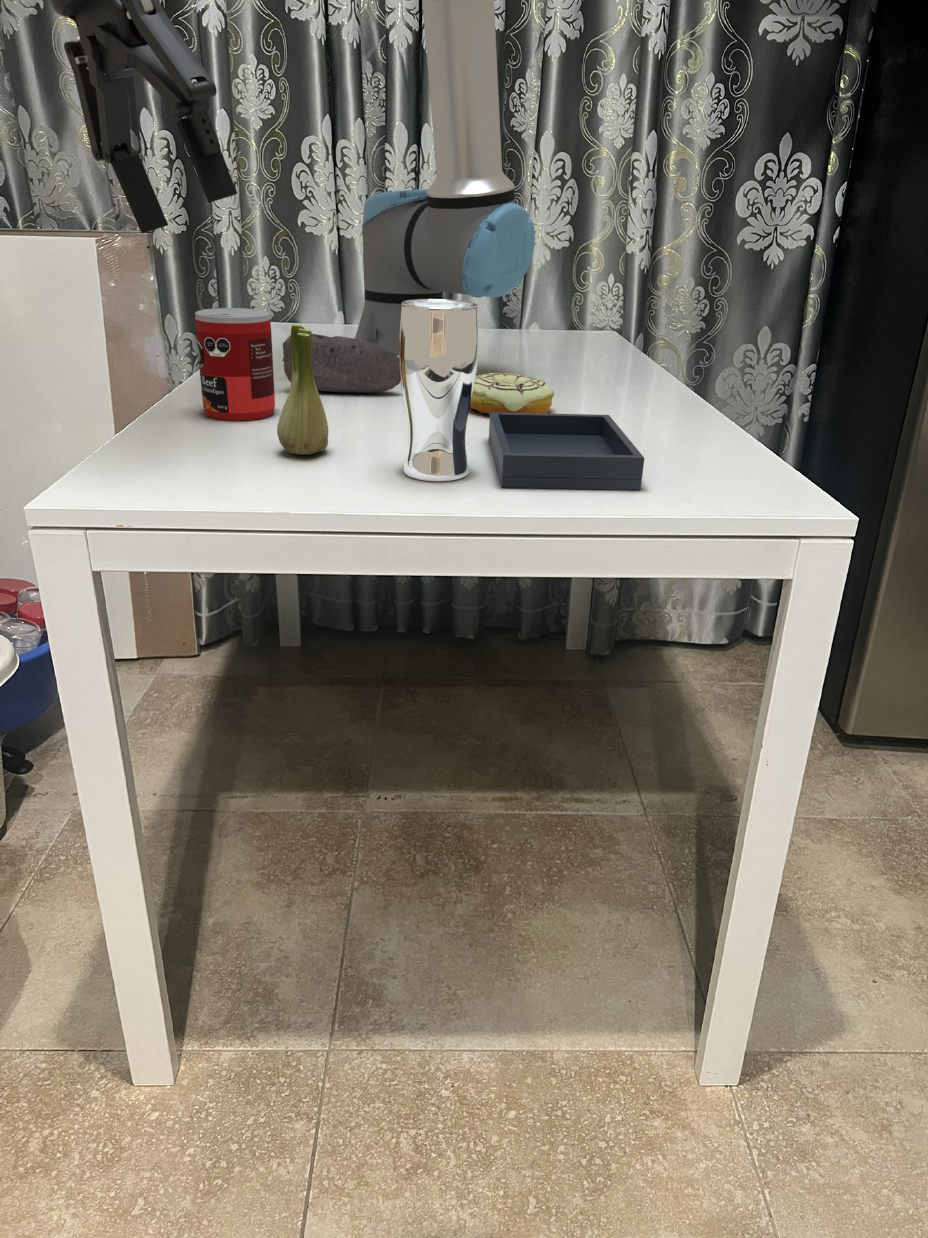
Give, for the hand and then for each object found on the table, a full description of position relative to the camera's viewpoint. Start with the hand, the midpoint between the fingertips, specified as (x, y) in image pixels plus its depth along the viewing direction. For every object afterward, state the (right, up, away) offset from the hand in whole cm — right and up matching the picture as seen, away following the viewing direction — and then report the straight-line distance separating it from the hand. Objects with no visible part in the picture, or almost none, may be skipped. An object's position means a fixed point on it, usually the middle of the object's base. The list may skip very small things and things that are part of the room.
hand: (187, 215), depth 84 cm
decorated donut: (+31, -13, +25) cm, 42 cm away
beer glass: (+23, -24, 0) cm, 33 cm away
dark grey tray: (+35, -22, +4) cm, 42 cm away
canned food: (0, -14, +19) cm, 24 cm away
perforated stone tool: (+11, -9, +31) cm, 34 cm away
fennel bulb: (+10, -21, +5) cm, 24 cm away
